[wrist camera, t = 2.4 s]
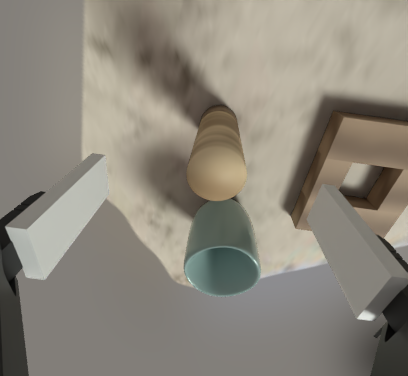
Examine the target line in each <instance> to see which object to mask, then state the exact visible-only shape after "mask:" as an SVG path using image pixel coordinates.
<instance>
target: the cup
mask: <svg viewBox="0 0 408 376" xmlns="http://www.w3.org/2000/svg"><path fill="white" fill-rule="evenodd" d="M184 272H185V275H186V277H187V279H188V281H189V282H190V283H191V284H192V285H193V286H194V287H195V288H196V289H198V290H199V291H201V292H203V293H205V294H208V295H212V296H222V297H223V296H233V295H238V294H240V293H244V292H245V291H248V290H250V289H251V288H252V287H254V286H255V285H256V283H257V282H258V281H259V278H260V273H261V266H260V259H259V254H258V248H257V243H256V238H255V233H254V229H253V225H252V222H251V220H250V218H249V215H248V214H247V212H246V210H245V209H244V208H243V207H242V206H241V205H240V204H239V203H238V202H236V201H235V200H232V199H227V200H223V201H211V200H210V201H208V202H207V203H205V204H204V205H202V206H201V207H200V209H199V210H198V211H197V213H196V214H195V216H194V218H193V221H192V224H191V227H190V231H189V236H188V241H187V247H186V253H185V259H184Z"/></svg>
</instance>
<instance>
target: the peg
mask: <svg viewBox="0 0 408 376" xmlns="http://www.w3.org/2000/svg"><path fill="white" fill-rule="evenodd" d="M186 176H187V181H188V184H189V186H190V188H191V189H192V190H193V191H194V192H195V193H196V194H197V195H198V196H200V197H202V198H204V199H207V200H211V201H223V200H227V199H230V198H232V197H234V196H235V195H237V194H238V193H239V192H240V191H241V190H242V188H243V187H244V185H245V182H246V178H247V171H246V165H245V160H244V155H243V149H242V144H241V139H240V134H239V129H238V123H237V119H236V116H235V114H234V112H233V111H232V110H231V109H229V108H228V107H226V106H222V105H216V106H212V107H210V108H209V109H207V110H206V111H205V112H204V114H203V116H202V118H201V122H200V125H199V129H198V132H197V136H196V139H195V143H194V146H193V149H192V153H191V156H190V160H189V163H188V167H187V172H186Z"/></svg>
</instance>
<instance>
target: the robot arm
mask: <svg viewBox="0 0 408 376" xmlns="http://www.w3.org/2000/svg"><path fill="white" fill-rule="evenodd" d="M108 195H109V185H108V176H107V167H106V157H105V155H102V154H94V153H92V154H91V155H90V156H89V157H87V158H86V159H85V160H84V161H83V162H81V163H80V164H79V165H78V166H77V167H75V168H74V169H73V170H72V171H71V172H69V173H68V174H67V175H66V176H65V177H64V178H62V179H61V180H60V181H59V182H58V183H57V184H55V185H54V186H53V187H52V188H50V189H49V190H48V191H47V192H42V191H41V192H39V193H36V194H34V195H32V196H30V197H28V198H27V199H26V200H25V201H23V202H22V203H21V205H18V206H17V207H16V208H14V210H12V211H11V212H9V213H8V214H7V215H5V216H4V217H3V218H2V219H0V376H29V374H28V366H27V357H26V348H25V340H24V331H23V323H22V314H21V305H20V297H19V288H18V280H17V278H16V274H17V273H18V272H19V271H20V270H21V269H22V268H23V271H24V273H25V275H26V277H27V278H35V279H43V280H45V279H46V278H47V276H48V275H49V274H50V272H51V271H52V270H53V268H54V267H55V266H56V264H57V263H58V262H59V260H60V259H61V258H62V256H63V255H64V254H65V252H66V251H67V250H68V248H69V247H70V246H71V244H72V243H73V242H74V240H75V239H76V238H77V236H78V235H79V234H80V232H81V231H82V230H83V228H84V227H85V226H86V224H87V223H88V222H89V220H90V219H91V217H92V216H93V215H94V214H95V212H96V211H97V210H98V208H99V207H100V206H101V204H102V203H103V202H104V200H105V199H106V198H107V196H108ZM307 221H308V223H309V225H310V227H311V229H312V231H313V233H314V235H315V237H316V239H317V241H318V243H319V245H320V247H321V249H322V251H323V253H324V255H325V257H326V259H327V261H328V263H329V265H330V267H331V269H332V271H333V273H334V275H335V277H336V279H337V281H338V283H339V285H340V287H341V289H342V291H343V293H344V295H345V296H346V299H347V301H348V303H349V305H350V307H351V309H352V311H353V312H354V315H355V316H356V319H361V320H370V321H375V320H376V319H377V318H378V317H379V316H380V314H381V313H383V314H384V316H385V318H386V319H387V322H386V323H385V324H384V325H383V326H382V328H380V329H379V330H378V332H377V333H376V334H375V335H374V337H375V338H377V337H378V336H379V335H381V336H380V340H379V344H378V348H377V352H376V356H375V360H374V364H373V368H372V371H371V375H370V376H408V264H407V263H406V262H405V261H404V260H402V257H401V256H400V255H399V254H398V253H396V250H395V249H394V248H393V247H392V246H391V245H390V243H389V242H387V241H386V240H385V239H383V238H382V237H381V236H379V235H375V233H374V232H373V231H372V230H371V228H370V227H369V226H368V225H367V224H366V222H365V221H364V220H363V219H362V218H361V216H360V215H359V214H358V213H357V212H356V210H355V209H354V208H353V207H352V206H351V204H350V203H349V202H348V201H347V200H346V198H345V197H344V196H343V195H342V194H341V192H340V191H339V190H338V189H337V188H336V186H334V185H326V184H322V186H321V188H320V190H319V193H318V195H317V197H316V199H315V202H314V204H313V206H312V208H311V211H310V213H309V215H308V217H307Z"/></svg>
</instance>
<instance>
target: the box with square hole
mask: <svg viewBox="0 0 408 376" xmlns="http://www.w3.org/2000/svg"><path fill="white" fill-rule="evenodd" d="M353 162H354V163H361V164H368V165H375V166H383V167H384V169H383V171H382V173H381V174H380V176H379V178H378V179H377V181H376V183H375V184H374V186H373V188H372V190H371V191H370V193H369V195H368V196H367V198H359V197H352V196H344V195H343V196H344V197H345V198H346V200H347V201H348V202H349V203H350V204H351V206H352V207H353V208H354V209H355V210H356V212H357V213H358V214H359V215H360V216H361V218H362V219H363V220H364V221H365V222H366V224H367V225H368V226H369V227H370V228H371V230H372V231H373V232H374V233H375V235H379V236H381V237H382V238H383V239H384V237H385V236H386V234H387V233H388V232H389V230H390V229H391V227H392V226H393V225H394V223H395V222H396V220H397V219H398V218H399V216H400V215H401V213H402V212H403V211H404V209H405V208H406V206H407V205H408V121H402V120H395V119H388V118H381V117H373V116H366V115H359V114H352V113H345V112H338V111H333V113H332V115H331V118H330V120H329V123H328V125H327V128H326V130H325V133H324V135H323V138H322V140H321V143H320V145H319V148H318V150H317V153H316V155H315V158H314V160H313V162H312V165H311V167H310V170H309V172H308V175H307V177H306V180H305V182H304V185H303V187H302V190H301V192H300V195H299V197H298V200H297V202H296V205H295V207H294V210H293V212H292V215H291V218H292V221H293V223H294V226H295V228H296V229H301V230H309V231H312V229H311V227H310V225H309V223H308V221H307V217H308V215H309V213H310V211H311V208H312V206H313V204H314V202H315V199H316V197H317V195H318V193H319V190H320V188H321V186H322V184H326V185H334V186H336V188H337V189H338V190H339V188H340V186H341V184H342V183H343V181H344V179H345V177H346V175H347V173H348V171H349V169H350V167H351V165H352V163H353Z"/></svg>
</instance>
